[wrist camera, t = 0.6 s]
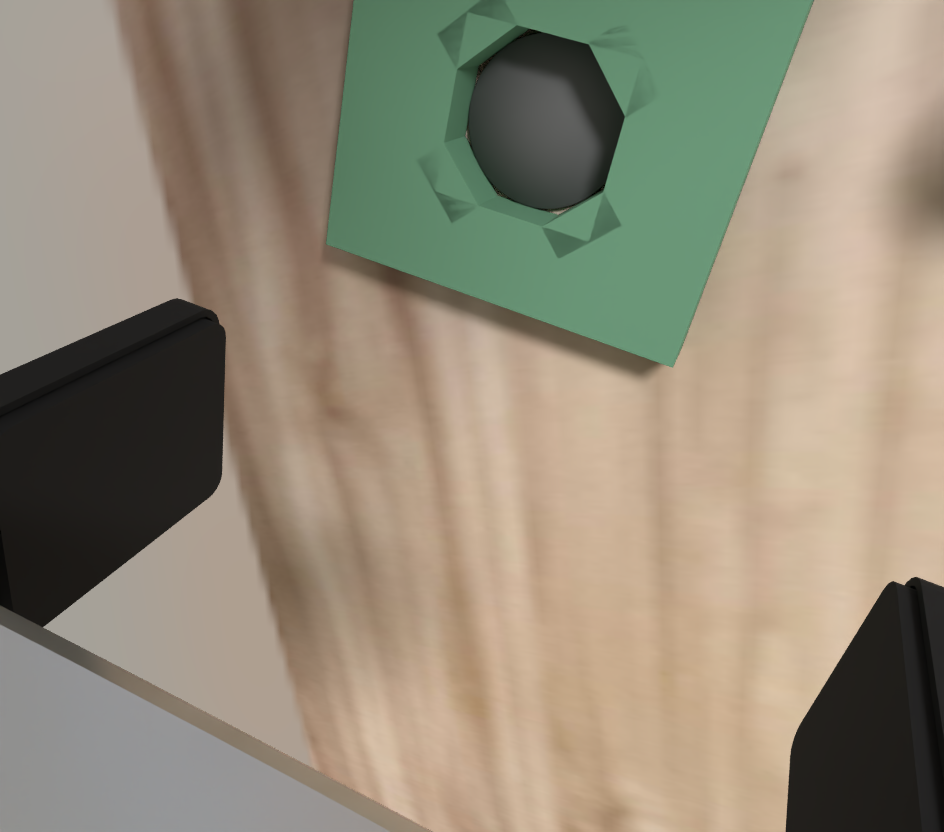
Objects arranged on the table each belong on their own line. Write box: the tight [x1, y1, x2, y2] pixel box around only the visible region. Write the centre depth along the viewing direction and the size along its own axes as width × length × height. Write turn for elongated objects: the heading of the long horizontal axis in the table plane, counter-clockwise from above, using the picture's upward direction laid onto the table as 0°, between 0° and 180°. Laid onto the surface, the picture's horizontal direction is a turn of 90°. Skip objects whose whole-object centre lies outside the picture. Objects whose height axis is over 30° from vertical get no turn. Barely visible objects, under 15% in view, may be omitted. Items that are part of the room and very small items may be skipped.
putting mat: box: [326, 0, 814, 368], centre depth 32 cm, size 26×18×2 cm
